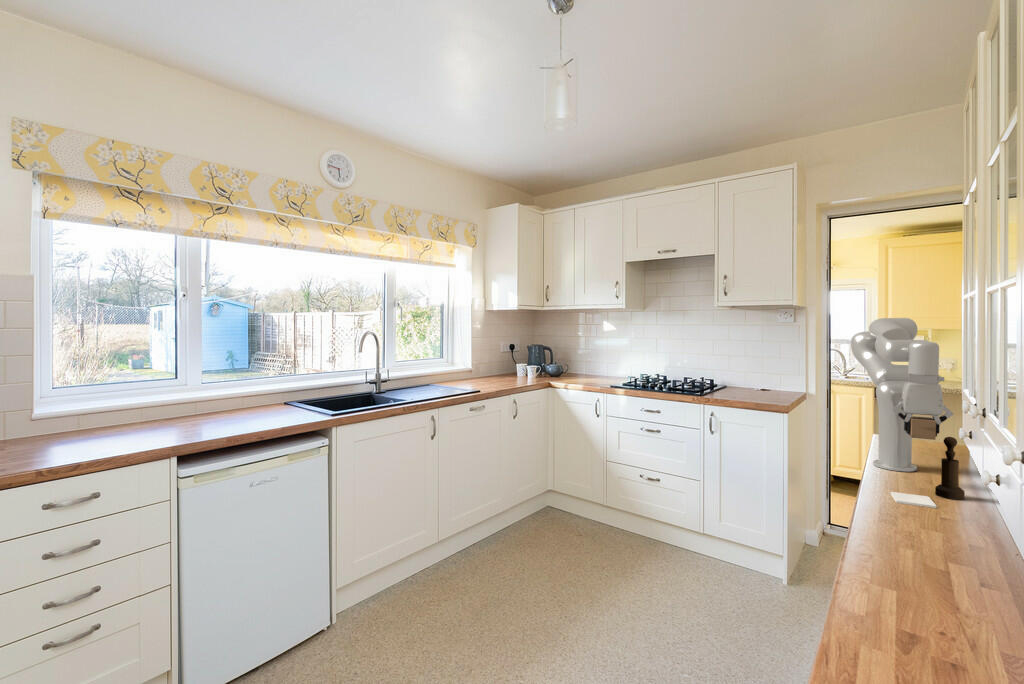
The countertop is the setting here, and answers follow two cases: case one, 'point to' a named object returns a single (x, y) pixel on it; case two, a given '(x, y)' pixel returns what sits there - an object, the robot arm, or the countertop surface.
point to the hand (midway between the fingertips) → (921, 433)
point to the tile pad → (913, 499)
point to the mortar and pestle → (950, 474)
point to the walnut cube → (923, 428)
